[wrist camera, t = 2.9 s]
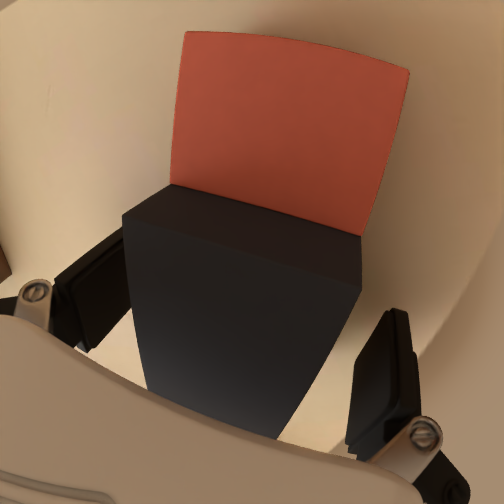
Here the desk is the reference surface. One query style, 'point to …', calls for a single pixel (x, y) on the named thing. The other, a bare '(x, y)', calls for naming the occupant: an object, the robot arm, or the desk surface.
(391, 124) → the two-tone stepped block
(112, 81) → the desk surface
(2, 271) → the brown wooden box
